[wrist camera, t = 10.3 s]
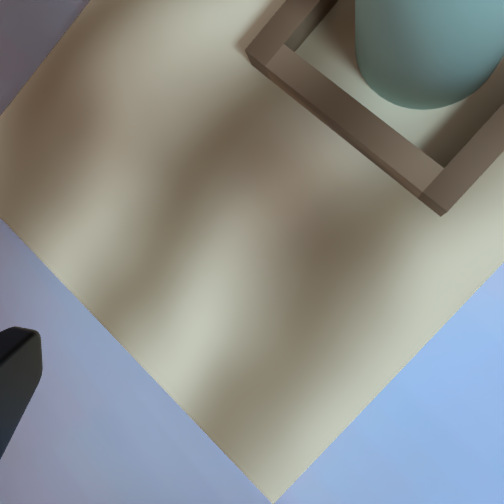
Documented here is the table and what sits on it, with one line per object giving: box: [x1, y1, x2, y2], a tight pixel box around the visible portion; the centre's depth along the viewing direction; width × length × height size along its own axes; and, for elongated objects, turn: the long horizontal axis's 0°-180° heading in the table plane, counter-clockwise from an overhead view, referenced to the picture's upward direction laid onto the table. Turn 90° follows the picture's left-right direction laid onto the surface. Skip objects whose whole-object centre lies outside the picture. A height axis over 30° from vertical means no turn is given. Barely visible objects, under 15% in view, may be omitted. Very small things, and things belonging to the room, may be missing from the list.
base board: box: [0, 0, 504, 504], centre depth 17 cm, size 19×23×3 cm
